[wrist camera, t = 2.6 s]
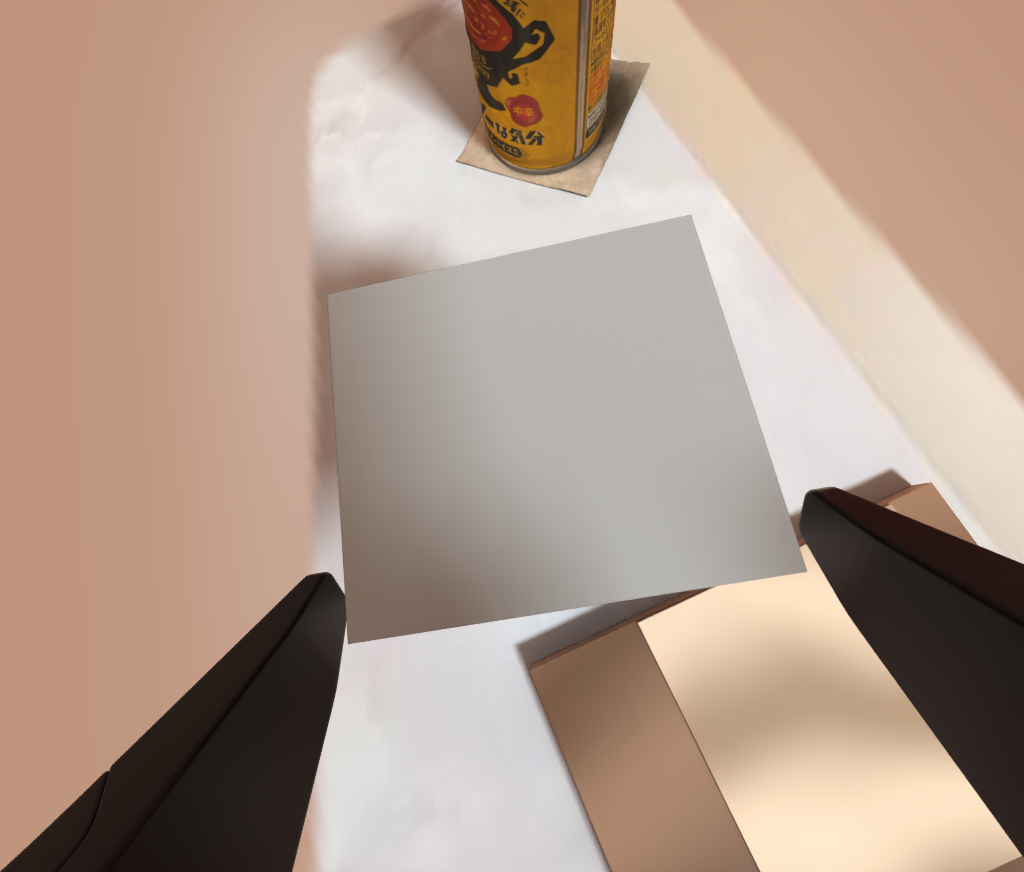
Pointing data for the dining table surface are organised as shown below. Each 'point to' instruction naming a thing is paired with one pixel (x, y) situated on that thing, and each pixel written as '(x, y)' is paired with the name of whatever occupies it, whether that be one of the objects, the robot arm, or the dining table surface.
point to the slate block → (547, 437)
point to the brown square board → (763, 737)
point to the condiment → (547, 89)
